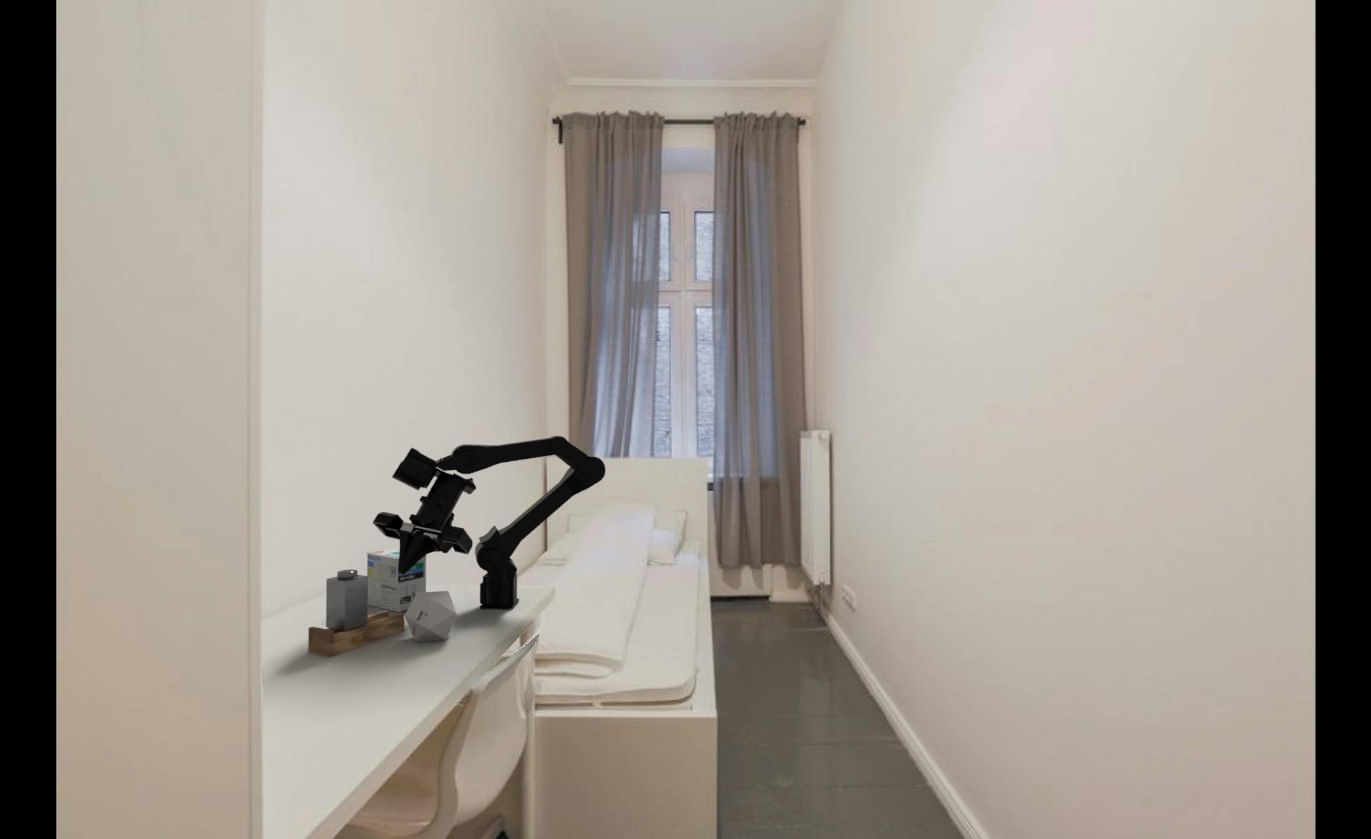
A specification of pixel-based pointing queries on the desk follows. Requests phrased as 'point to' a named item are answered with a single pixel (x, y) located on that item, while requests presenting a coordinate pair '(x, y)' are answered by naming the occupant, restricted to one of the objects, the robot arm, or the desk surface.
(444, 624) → the die
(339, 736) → the desk surface
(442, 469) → the robot arm
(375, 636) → the beam
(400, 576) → the light bulb box
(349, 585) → the square grey bottle
